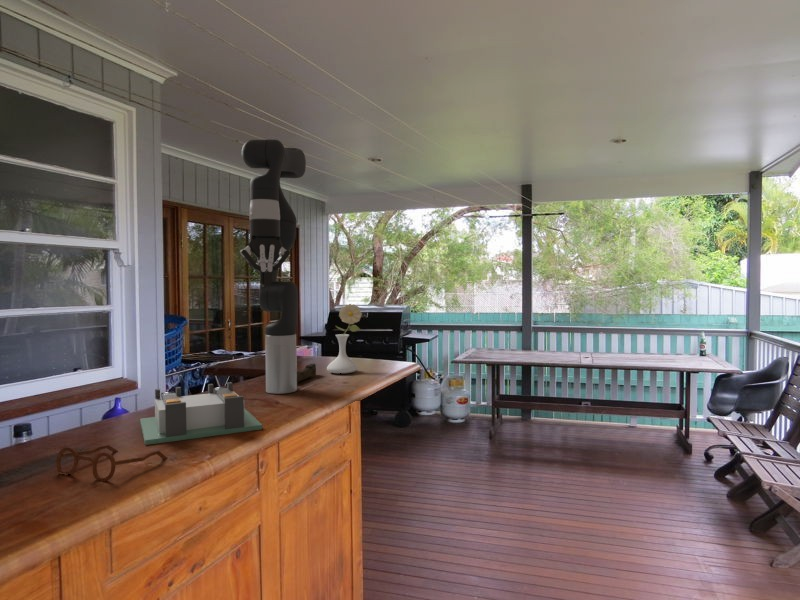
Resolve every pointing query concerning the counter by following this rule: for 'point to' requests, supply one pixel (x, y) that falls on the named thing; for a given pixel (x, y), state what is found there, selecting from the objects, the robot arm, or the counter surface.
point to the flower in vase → (342, 361)
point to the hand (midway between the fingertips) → (265, 286)
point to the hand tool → (306, 372)
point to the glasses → (95, 460)
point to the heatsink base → (197, 417)
